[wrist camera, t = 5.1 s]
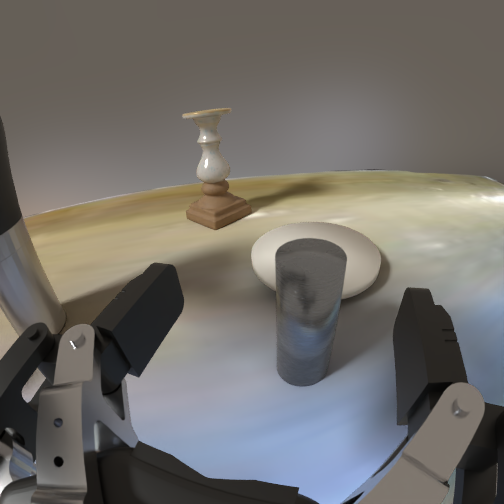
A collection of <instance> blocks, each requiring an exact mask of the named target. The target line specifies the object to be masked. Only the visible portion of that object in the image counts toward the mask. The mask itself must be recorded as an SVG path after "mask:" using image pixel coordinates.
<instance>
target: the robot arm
mask: <svg viewBox="0 0 504 504" xmlns="http://www.w3.org/2000/svg"><path fill="white" fill-rule="evenodd" d="M183 306H184V297H183V294H182V290H181V286H180V283H179V279H178V275H177V272H176V269H175V267H174V266H173V265H170V264H162V263H153V264H151V265H150V266H149V267H148V268H147V269H146V270H145V271H144V273H143V274H141V275H139V276H138V277H136V278H135V279H133V280H131V281H130V282H129V283H128V284H127V285H126V286H125V287H124V288H123V289H122V292H120V293H119V294H118V295H117V296H116V297H115V299H113V300H112V301H111V302H110V303H109V305H108V306H107V307H106V308H105V309H104V310H103V311H102V312H101V313H100V315H99V316H98V317H97V318H96V319H95V320H94V321H93V322H92V324H91V325H88V324H78V325H75V326H73V327H71V328H70V329H68V330H67V331H66V332H65V333H64V334H63V335H61V334H58V333H59V332H60V331H61V329H62V328H63V326H64V324H65V321H66V314H65V311H64V309H63V308H62V306H61V304H60V302H59V300H58V298H57V296H56V294H55V292H54V290H53V288H52V286H51V284H50V282H49V280H48V278H47V276H46V274H45V271H44V269H43V267H42V265H41V263H40V260H39V258H38V256H37V253H36V251H35V248H34V246H33V243H32V241H31V238H30V236H29V233H28V231H27V228H26V225H25V222H24V219H23V216H22V213H21V211H20V207H19V204H18V199H17V195H16V191H15V186H14V183H13V179H12V174H11V169H10V164H9V158H8V151H7V144H6V137H5V131H4V127H3V123H2V120H1V117H0V307H1V309H2V311H3V312H4V314H5V316H6V317H7V319H8V320H9V322H10V323H11V325H12V327H13V328H14V330H15V331H16V333H17V334H18V335H19V338H18V339H17V340H16V342H15V343H14V344H13V345H12V346H11V348H10V349H9V350H8V351H7V353H6V354H5V355H4V356H3V358H2V359H1V360H0V504H319V503H317V502H316V501H314V500H312V499H310V498H308V497H306V496H304V495H301V494H298V490H299V487H291V486H285V485H278V484H273V483H267V482H262V481H257V480H229V479H212V478H207V477H205V476H203V475H201V474H200V473H198V472H197V471H195V470H193V469H192V468H190V467H189V466H187V465H186V464H184V463H183V462H181V461H180V460H178V459H177V458H175V457H174V456H173V455H171V454H168V453H166V452H163V451H161V450H158V449H156V448H154V447H151V446H149V445H147V444H145V443H142V442H140V441H139V440H138V437H137V435H136V433H135V432H134V430H133V427H132V424H131V417H130V410H129V402H128V393H127V384H126V380H125V379H124V377H125V376H126V374H127V373H129V374H131V375H134V376H136V377H140V375H141V374H142V372H143V370H144V369H145V367H146V366H147V364H148V363H149V361H150V360H151V358H152V357H153V355H154V353H155V352H156V350H157V349H158V347H159V346H160V344H161V343H162V341H163V340H164V338H165V337H166V335H167V334H168V332H169V331H170V329H171V328H172V326H173V325H174V323H175V322H176V320H177V319H178V317H179V316H180V314H181V312H182V310H183ZM393 345H394V356H395V370H396V390H397V425H408V434H407V435H406V436H405V438H404V439H403V440H402V442H401V443H400V444H399V445H398V446H397V448H396V449H395V450H394V451H393V452H392V454H391V455H390V456H389V457H388V458H387V459H386V460H385V462H384V463H383V464H382V465H381V466H380V467H379V468H378V469H377V470H376V471H375V472H374V473H373V475H372V476H371V477H370V478H369V479H368V480H367V481H365V482H364V483H363V484H362V485H361V486H360V487H359V488H358V489H356V490H355V491H354V492H353V493H352V494H351V495H350V496H349V497H347V498H346V499H345V500H344V501H343V502H342V503H341V504H441V502H442V501H443V499H444V498H445V496H446V495H447V493H448V490H449V484H448V479H449V477H450V476H451V474H452V473H453V471H454V469H455V468H456V481H455V492H454V501H453V504H504V407H502V406H498V405H493V404H489V403H486V402H484V400H483V397H482V395H481V393H480V392H479V391H478V390H477V389H476V388H475V387H474V386H472V385H470V384H468V380H467V376H466V371H465V367H464V363H463V359H462V355H461V351H460V347H459V344H458V342H457V337H456V333H455V332H454V327H453V324H452V320H451V317H450V316H449V314H448V313H447V312H446V311H445V309H444V308H443V307H442V306H441V305H435V304H434V301H433V298H432V295H431V292H430V290H429V289H425V288H409V287H408V288H406V290H405V293H404V296H403V299H402V303H401V306H400V309H399V312H398V315H397V318H396V321H395V325H394V330H393ZM37 367H38V369H39V370H40V371H41V372H42V374H43V375H44V376H45V377H46V379H45V381H44V382H43V384H42V385H41V386H40V388H39V389H38V391H37V392H36V394H35V395H34V397H33V398H32V400H31V401H30V402H28V403H27V402H26V401H25V400H24V399H23V397H22V388H23V386H24V385H25V384H26V382H27V381H28V379H29V378H30V377H31V375H32V374H33V373H34V371H35V370H36V368H37ZM35 460H36V464H35V463H34V462H35ZM497 463H498V473H497ZM30 475H31V476H30ZM496 480H497V494H496ZM495 497H496V498H495Z"/></svg>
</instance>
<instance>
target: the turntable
mask: <svg viewBox="0 0 504 504" xmlns="http://www.w3.org/2000/svg"><path fill="white" fill-rule="evenodd" d="M302 238H317V239H323V240H327V241H330V242H332V243H334V244H336V245H338V246H339V247H341V248H342V249H343V250H344V252H345V253H346V255H347V264H346V271H345V278H344V285H343V291H342V297H341V299H346V298H349V297H352V296H355V295H357V294H359V293H361V292H363V291H364V290H366V289H367V288H369V287H370V286H371V285H372V284H373V283H374V281H375V280H376V278H377V276H378V273H379V269H380V264H381V255H380V252H379V250H378V248H377V247H376V245H375V244H374V243H373V242H372V241H371V240H370V239H369V238H367V237H366V236H365V235H363V234H361V233H359V232H357V231H355V230H353V229H351V228H348V227H345V226H341V225H337V224H331V223H324V222H300V223H293V224H288V225H284V226H281V227H278V228H275V229H273V230H270V231H269V232H267V233H265V234H264V235H262V236H261V237H260V238H259V239H258V240H257V241H256V242H255V244H254V246H253V248H252V252H251V258H252V267H253V270H254V272H255V274H256V276H257V277H258V278H259V280H260V281H261V282H262V283H264V284H265V285H266V286H268V287H269V288H270V289H272V290H274V291H276V273H275V254H276V251H277V249H278V248H279V247H280V246H282V245H283V244H285V243H287V242H289V241H292V240H296V239H302Z"/></svg>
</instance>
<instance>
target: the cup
mask: <svg viewBox="0 0 504 504" xmlns="http://www.w3.org/2000/svg"><path fill="white" fill-rule="evenodd" d="M346 264H347V255H346V253H345V252H344V250H343V249H342V248H341V247H339V246H338V245H336V244H334V243H332V242H330V241H327V240H323V239H317V238H302V239H296V240H292V241H289V242H287V243H285V244H283V245H282V246H280V247H279V248H278V249H277V251H276V254H275V273H276V326H277V371H278V373H279V375H280V377H281V378H282V379H283V380H284V381H286V382H287V383H289V384H291V385H295V386H310V385H313V384H315V383H317V382H319V381H320V380H321V379H322V378H323V377H324V376H325V374H326V372H327V368H328V363H329V359H330V355H331V350H332V345H333V340H334V336H335V330H336V325H337V320H338V315H339V309H340V303H341V297H342V291H343V285H344V278H345V271H346Z"/></svg>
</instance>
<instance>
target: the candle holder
mask: <svg viewBox="0 0 504 504" xmlns="http://www.w3.org/2000/svg"><path fill="white" fill-rule="evenodd" d="M228 113H231V108H221V109H212V110H204V111H197V112H191V113H185V114H183V115H182V118H183V119H193V120H194V122H195V124H196V125H197V126H198V127H199V129H200V137H199V139H198V141H197V142H198V143H199V144H200V146H201V147H202V149H203V155H202V158H201V161H200V162H199V165H198V167H197V171H196V174H197V177H198V178H199V179H200V180H201V181H203V182H204V183H203V185H202V188H201V190H202V192H203V193H204V194H205V195H204V196H203V197H202V198H201V199H200V200H198V201H196V202H194V203H191V204H190V205H189V207H190V208H189V210H187V211H186V215H187V219H189V220H192V221H194V222H196V223H199V224H201V225H204V226H206V227H208V228H211V229H214V230H217V229H219V228H222V227H224V226H226V225H228V224H230V223H232V222H234V221H236V220H238V219H240V218H242V217H244V216H246V215H248V214H250V213H251V205H249V204H247V203H246V200H245V199H243V198H240V197H237V196H234V195H233V194H231V193H229V192H227V190H228V189H229V184H228V182H227V181H226V180H225V178H227V177H228V175H229V173H230V167H229V164H228V163H227V162H226V160H225V159H224V158H223V157H222V155H221V154H220V152H219V149H218V148H219V144H220V141H221V140H222V137H221V136H220V135H219V134H218V132H217V125H218V123H219V121H220V117H221V115H223V114H228Z"/></svg>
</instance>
